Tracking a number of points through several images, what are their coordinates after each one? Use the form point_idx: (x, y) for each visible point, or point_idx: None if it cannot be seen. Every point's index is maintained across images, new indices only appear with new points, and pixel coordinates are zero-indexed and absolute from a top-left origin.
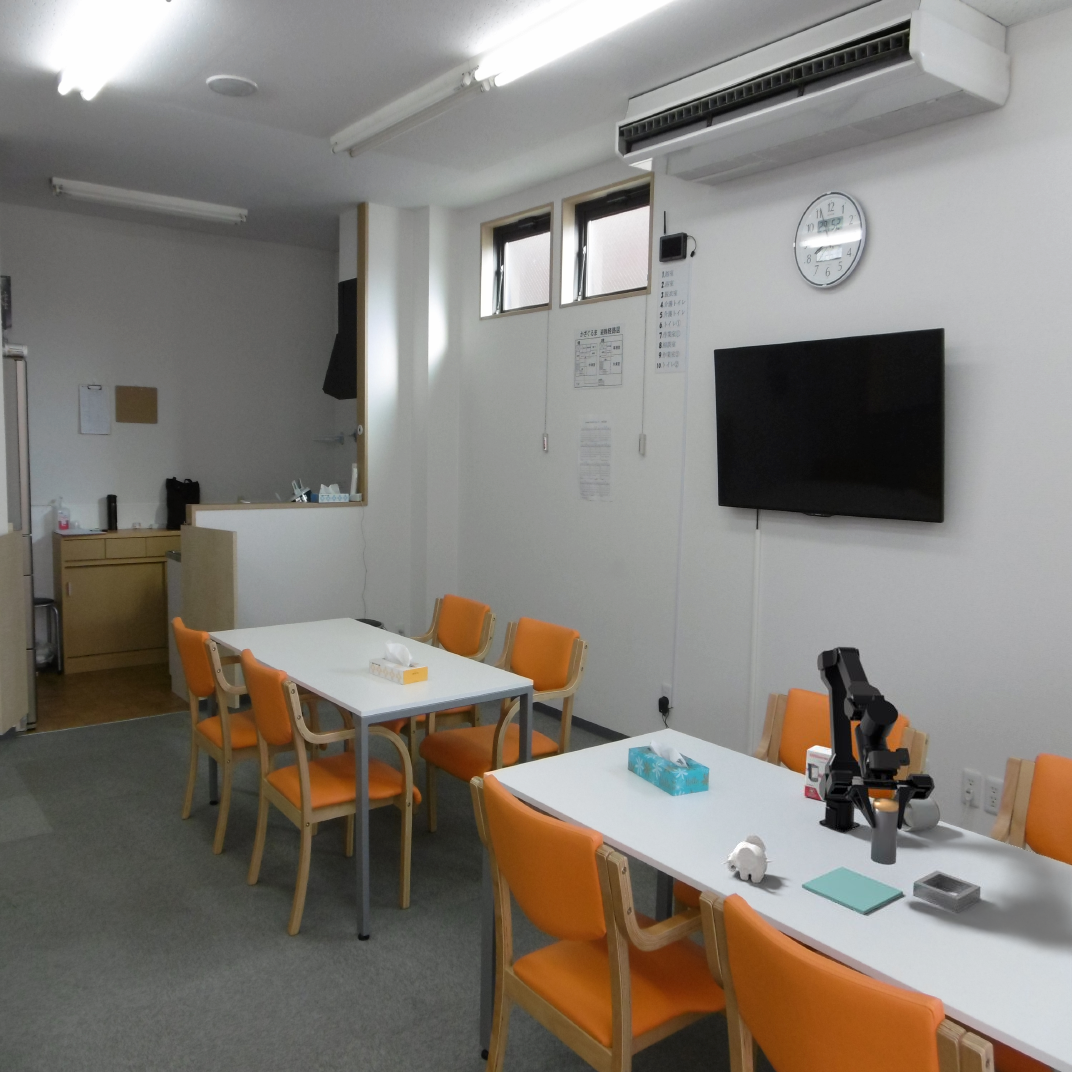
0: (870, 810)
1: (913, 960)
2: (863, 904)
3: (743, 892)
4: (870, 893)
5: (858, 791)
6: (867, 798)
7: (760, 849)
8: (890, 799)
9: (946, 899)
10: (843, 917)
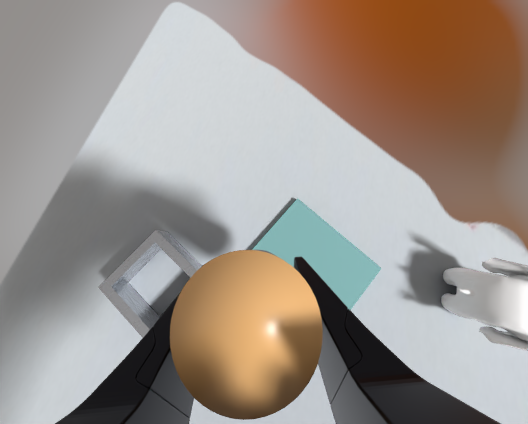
0: (322, 299)
1: (257, 105)
2: (294, 219)
3: (461, 231)
4: (279, 257)
5: (468, 405)
6: (360, 364)
7: (501, 314)
8: (203, 393)
9: (171, 242)
10: (323, 186)
